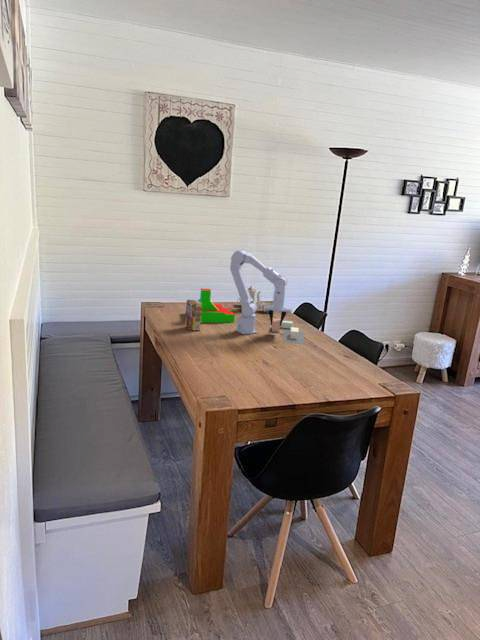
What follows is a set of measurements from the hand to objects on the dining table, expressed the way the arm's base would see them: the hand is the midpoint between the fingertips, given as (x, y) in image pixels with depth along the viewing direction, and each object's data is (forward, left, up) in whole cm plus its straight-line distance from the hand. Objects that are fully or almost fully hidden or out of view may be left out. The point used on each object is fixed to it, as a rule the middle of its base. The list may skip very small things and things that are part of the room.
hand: (275, 324), depth 251 cm
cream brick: (+8, -6, -6) cm, 12 cm away
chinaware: (+21, +51, -7) cm, 55 cm away
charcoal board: (+8, -6, -6) cm, 12 cm away
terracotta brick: (0, 0, -2) cm, 2 cm away
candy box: (-36, +26, -7) cm, 44 cm away
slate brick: (+7, +8, -7) cm, 12 cm away
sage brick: (+15, +10, -7) cm, 20 cm away
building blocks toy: (-15, +41, -7) cm, 44 cm away
